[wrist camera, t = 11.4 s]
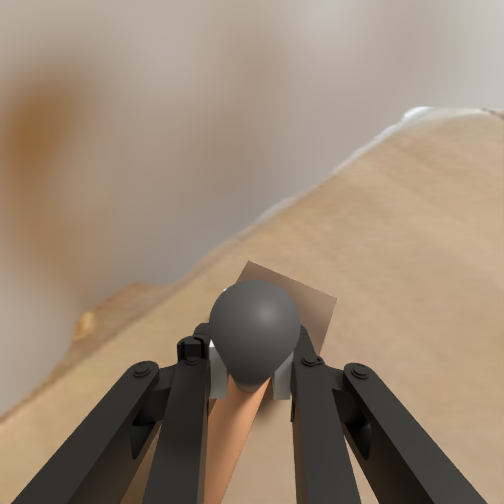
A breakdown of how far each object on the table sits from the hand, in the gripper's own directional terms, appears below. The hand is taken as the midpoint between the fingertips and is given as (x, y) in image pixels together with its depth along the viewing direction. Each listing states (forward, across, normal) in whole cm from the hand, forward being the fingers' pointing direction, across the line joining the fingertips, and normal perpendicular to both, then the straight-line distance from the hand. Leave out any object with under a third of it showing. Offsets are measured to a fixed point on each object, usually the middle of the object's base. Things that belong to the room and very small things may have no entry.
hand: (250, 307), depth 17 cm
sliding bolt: (-1, -2, -10) cm, 10 cm away
